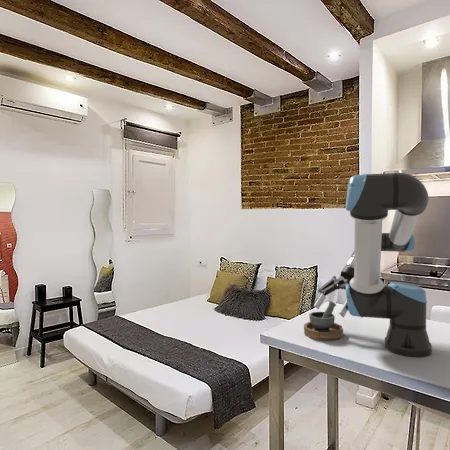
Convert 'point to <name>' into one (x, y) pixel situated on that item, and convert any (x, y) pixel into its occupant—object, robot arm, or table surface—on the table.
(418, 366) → the table surface
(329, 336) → the round wooden tray
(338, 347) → the table surface
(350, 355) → the table surface
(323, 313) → the mortar and pestle
